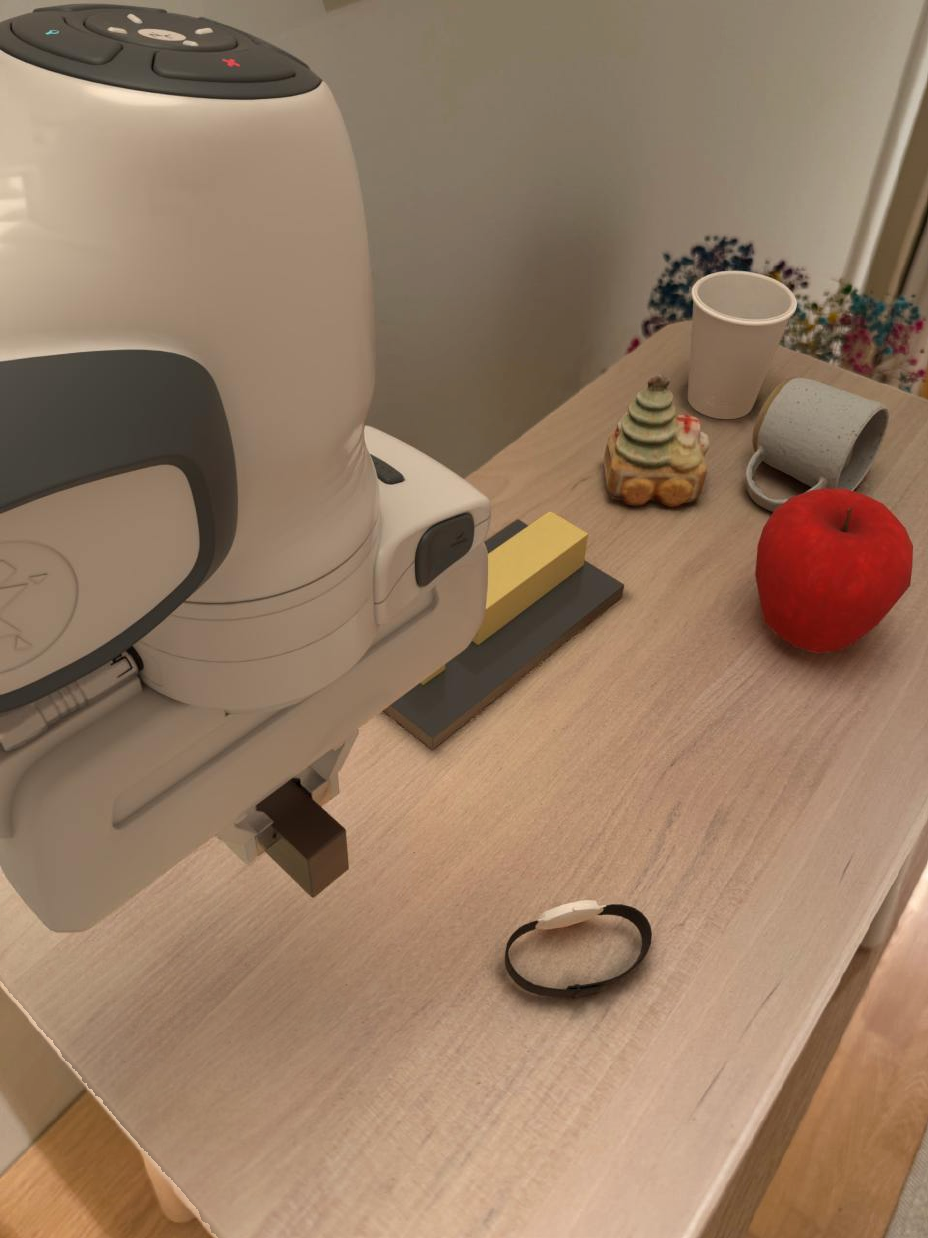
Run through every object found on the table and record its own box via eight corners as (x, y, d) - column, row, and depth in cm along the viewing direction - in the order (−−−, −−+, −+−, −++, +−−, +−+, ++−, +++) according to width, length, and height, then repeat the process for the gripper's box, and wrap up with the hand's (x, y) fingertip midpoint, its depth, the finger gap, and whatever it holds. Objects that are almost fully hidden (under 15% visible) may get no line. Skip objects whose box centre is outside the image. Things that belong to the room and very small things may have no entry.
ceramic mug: (783, 431, 89) (806, 351, 84) (873, 472, 85) (903, 391, 80) (715, 490, 84) (734, 409, 78) (808, 537, 80) (835, 455, 74)
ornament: (693, 462, 86) (717, 353, 79) (709, 510, 82) (737, 400, 74) (595, 463, 85) (611, 354, 78) (607, 512, 81) (625, 402, 74)
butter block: (478, 646, 69) (479, 613, 67) (439, 618, 71) (440, 586, 69) (584, 565, 75) (588, 533, 73) (546, 542, 77) (550, 510, 75)
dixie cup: (681, 366, 96) (701, 262, 89) (774, 384, 94) (803, 280, 87) (663, 416, 90) (683, 309, 83) (761, 437, 88) (791, 329, 81)
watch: (628, 906, 58) (638, 871, 55) (660, 986, 55) (672, 953, 52) (492, 936, 56) (495, 901, 54) (516, 1020, 53) (521, 988, 51)
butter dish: (432, 750, 65) (432, 738, 64) (324, 664, 70) (323, 652, 69) (622, 596, 75) (624, 584, 74) (516, 530, 79) (517, 518, 79)
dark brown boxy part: (312, 899, 43) (308, 860, 41) (142, 732, 49) (130, 689, 47) (349, 869, 44) (347, 829, 42) (178, 709, 50) (168, 666, 48)
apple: (869, 701, 68) (926, 578, 61) (723, 657, 71) (759, 534, 63) (887, 602, 75) (940, 480, 67) (752, 565, 77) (788, 443, 70)
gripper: (-3, 827, 27) (108, 1051, 37) (524, 482, 38) (502, 726, 48) (-118, 694, 30) (13, 934, 40) (401, 409, 41) (404, 653, 51)
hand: (283, 819), depth 44 cm, fingers closed on dark brown boxy part, 2 cm apart
